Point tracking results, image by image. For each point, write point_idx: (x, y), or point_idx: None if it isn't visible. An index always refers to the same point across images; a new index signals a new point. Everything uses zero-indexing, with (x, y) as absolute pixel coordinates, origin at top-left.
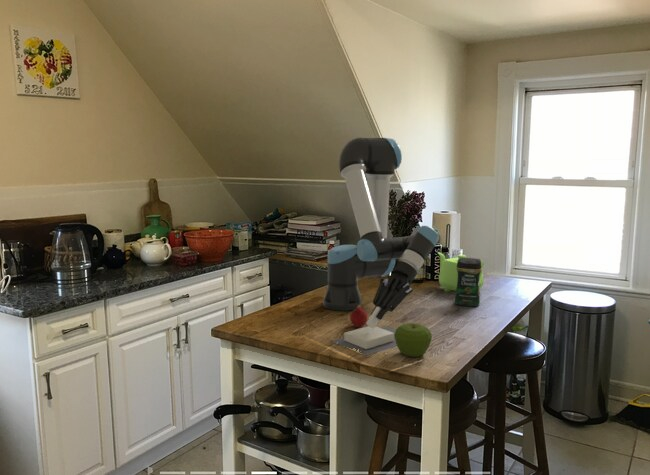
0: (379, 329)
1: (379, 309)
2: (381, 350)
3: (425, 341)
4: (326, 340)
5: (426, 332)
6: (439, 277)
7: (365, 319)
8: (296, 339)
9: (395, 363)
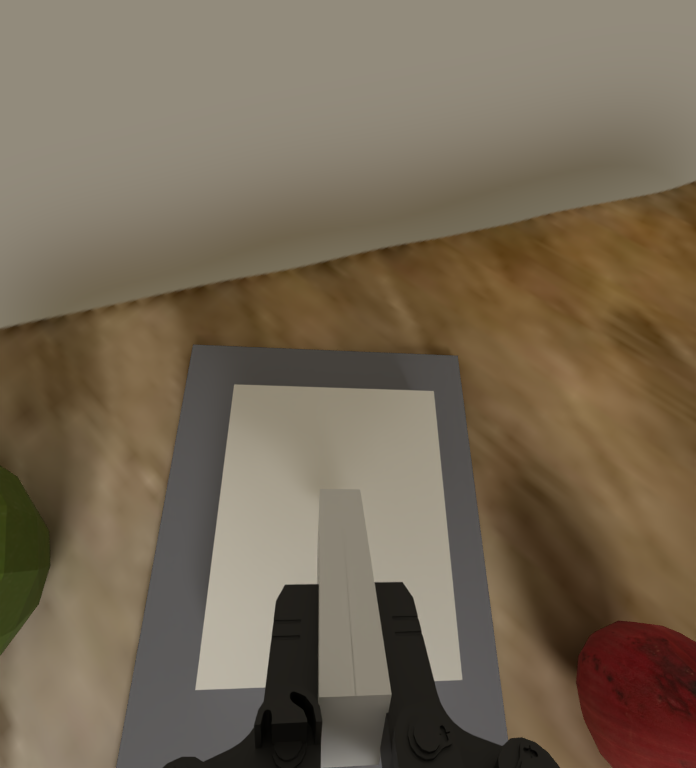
0: None
1: (318, 669)
2: (173, 463)
3: None
4: (493, 370)
5: None
6: None
7: (600, 731)
8: (567, 287)
9: (22, 411)
